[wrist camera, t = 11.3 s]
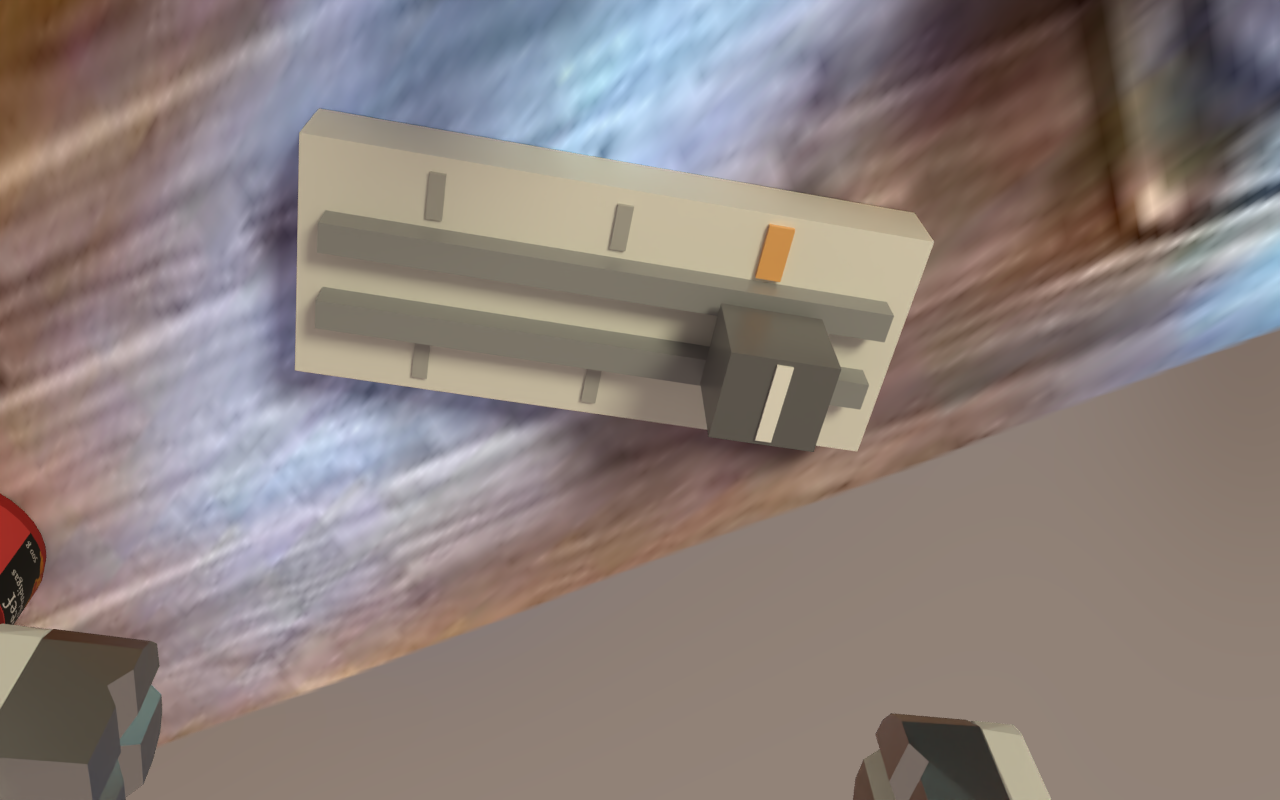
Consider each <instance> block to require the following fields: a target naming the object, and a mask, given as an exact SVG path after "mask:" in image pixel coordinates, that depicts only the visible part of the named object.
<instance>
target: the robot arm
mask: <svg viewBox="0 0 1280 800" xmlns="http://www.w3.org/2000/svg"><path fill="white" fill-rule="evenodd" d="M158 668H159V657H158V648H157V643H154V642H152V641H146V640H138V639H130V638H122V637H114V636H106V635H98V634H89V633H81V632H73V631H65V630H57V629H53V630H52V629H44V628H35V627H27V626H18V625H10V624H0V800H126V799H125V798H126V797H127V796H128V795H130V794H131V793H132V792H134V791H135V790H136V789H138V788H139V787H140V786H142V785H143V784H144V781H145V779H146V776H147V774H148V771H149V769H150V766H151V764H152V761H153V758H154V754H155V750H156V746H157V742H158V738H159V735H160V729H161V718H162V697H161V694H160V693H159V692H158V691H157V690H156V689H155V688H154V687H153V686H152V685H151V684H152V681H153V679H154V677H155V675H156V672H157V670H158ZM876 737H877V741H878V744H879V748H880V749H879V750H878V751H876V752H875V753H873V754H872V755H870V756H868V757H867V758H865V759H864V760H863V762H862V764H861V767H860V769H859V771H858V774H857V777H856V779H855V787H854V796H853V800H1051V798H1050V796H1049V793H1048V791H1047V789H1046V787H1045V785H1044V783H1043V780H1042V778H1041V776H1040V774H1039V771H1038V769H1037V767H1036V765H1035V763H1034V760H1033V758H1032V756H1031V754H1030V752H1029V749H1028V747H1027V745H1026V743H1025V741H1024V739H1023V737H1022V734H1021V732H1019V730H1017V729H1016V728H1015V727H1014V726H1013V725H1010V724H1000V723H990V722H979V721H968V720H962V719H950V718H938V717H928V716H916V715H905V714H892V713H891V714H890V715H888V716H887V717H886V718H884V719H883V720H882V722H881V724H880V726H879V728H878V730H877V732H876Z"/></svg>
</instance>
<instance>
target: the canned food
mask: <svg viewBox="0 0 1280 800" xmlns="http://www.w3.org/2000/svg"><path fill="white" fill-rule="evenodd" d="M45 562H46V549H45V544H44V541H43V538H42V536H41V533H40V532H39V530H38V529H37V527H36V525H35V524H34V522H33V521H32V520H31V519H30V518H29V517H28V515H27V514H26V513H25V512H24V511H23V510H22V509H21V508H19V507H18V506H17V505H16V504H15V503H13V502H12V501H11V500H9V499H8V498H6V497H5V496H3V495H1V494H0V624H10V625H14V623H15V622H16V620H17V619H18V617H19V616H20V614H21V613H22V611H23V610H24V608H25V607H26V605H27V604H28V602H29V601H30V599H31V598H32V596H33V595H34V593H35V592H36V590H37V588H38V586H39V585H40V583H41V581H42V577H43V572H44V567H45Z"/></svg>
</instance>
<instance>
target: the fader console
mask: <svg viewBox="0 0 1280 800" xmlns="http://www.w3.org/2000/svg"><path fill="white" fill-rule="evenodd" d="M933 244H934V241H933V240H932V238H931V237H930V235H929V234H928V232H927V231H926V229H925V228H924V226H923V225H922V223H921V222H920V221H919V219H918V218H917V216H916V215H915V213H912V212H907V211H901V210H895V209H890V208H884V207H878V206H873V205H867V204H861V203H855V202H850V201H844V200H838V199H833V198H827V197H821V196H816V195H810V194H804V193H799V192H793V191H787V190H781V189H776V188H770V187H764V186H759V185H753V184H747V183H742V182H736V181H730V180H724V179H719V178H713V177H707V176H702V175H696V174H690V173H685V172H679V171H673V170H668V169H662V168H656V167H650V166H645V165H639V164H633V163H628V162H622V161H616V160H611V159H605V158H599V157H593V156H588V155H582V154H576V153H571V152H565V151H559V150H554V149H548V148H542V147H537V146H531V145H525V144H519V143H514V142H508V141H502V140H497V139H491V138H485V137H480V136H474V135H468V134H463V133H457V132H451V131H445V130H440V129H434V128H428V127H423V126H417V125H411V124H406V123H400V122H394V121H388V120H383V119H377V118H371V117H366V116H360V115H354V114H349V113H343V112H337V111H332V110H326V109H320V108H319V109H318V110H317V111H316V113H315V114H314V115H313V116H312V117H311V119H310V120H309V121H308V122H307V124H306V125H305V126H304V127H303V129H302V130H301V131H300V132H299V177H298V232H297V287H296V342H295V370H296V371H302V372H309V373H316V374H323V375H330V376H337V377H344V378H351V379H358V380H365V381H372V382H379V383H386V384H393V385H400V386H407V387H414V388H421V389H427V390H434V391H441V392H448V393H455V394H462V395H469V396H476V397H483V398H490V399H497V400H504V401H511V402H518V403H525V404H532V405H539V406H546V407H552V408H559V409H566V410H573V411H580V412H587V413H594V414H601V415H608V416H615V417H622V418H629V419H636V420H643V421H650V422H657V423H664V424H671V425H677V426H684V427H691V428H698V429H705V430H707V424H706V417H705V411H704V405H703V398H702V392H701V385H700V382H701V378H702V374H703V371H704V367H705V363H706V359H707V355H708V351H709V347H710V344H711V340H712V336H713V332H714V328H715V324H716V320H717V317H718V313H719V309H720V305H721V303H723V304H729V305H735V306H742V307H748V308H754V309H760V310H767V311H773V312H779V313H785V314H792V315H798V316H804V317H810V318H817V319H822V320H823V323H824V325H825V328H826V331H827V333H828V336H829V338H830V341H831V343H832V346H833V349H834V351H835V354H836V356H837V359H838V362H839V364H840V367H841V372H840V375H839V378H838V381H837V384H836V387H835V390H834V393H833V396H832V399H831V402H830V405H829V408H828V411H827V414H826V417H825V420H824V422H823V425H822V428H821V431H820V434H819V437H818V440H817V443H816V446H823V447H830V448H837V449H844V450H851V451H858V448H859V445H860V443H861V440H862V437H863V435H864V432H865V429H866V426H867V424H868V421H869V418H870V415H871V413H872V410H873V407H874V405H875V402H876V399H877V396H878V394H879V391H880V388H881V385H882V383H883V380H884V377H885V375H886V372H887V369H888V366H889V364H890V361H891V358H892V355H893V353H894V350H895V347H896V345H897V342H898V339H899V336H900V334H901V331H902V328H903V325H904V323H905V320H906V317H907V315H908V312H909V309H910V306H911V304H912V301H913V298H914V295H915V293H916V290H917V287H918V285H919V282H920V279H921V276H922V274H923V271H924V268H925V265H926V263H927V260H928V257H929V255H930V252H931V249H932V246H933Z"/></svg>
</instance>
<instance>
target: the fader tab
mask: <svg viewBox="0 0 1280 800" xmlns="http://www.w3.org/2000/svg"><path fill="white" fill-rule="evenodd" d="M840 372H841V367H840V364H839V362H838V359H837V356H836V354H835V351H834V349H833V346H832V343H831V341H830V338H829V336H828V333H827V331H826V328H825V325H824V323H823V320H822V319H817V318H810V317H804V316H798V315H792V314H785V313H779V312H773V311H767V310H760V309H754V308H748V307H742V306H735V305H729V304H723V303H721V305H720V309H719V313H718V317H717V320H716V324H715V328H714V332H713V336H712V340H711V344H710V347H709V351H708V355H707V359H706V363H705V367H704V371H703V374H702V378H701V382H700V385H701V392H702V398H703V405H704V411H705V417H706V424H707V430H708V437H713V438H719V439H726V440H733V441H740V442H747V443H754V444H761V445H768V446H775V447H782V448H789V449H796V450H803V451H810V452H814V449H815V446H816V443H817V440H818V437H819V434H820V431H821V428H822V425H823V422H824V420H825V417H826V414H827V411H828V408H829V405H830V402H831V399H832V396H833V393H834V390H835V387H836V384H837V381H838V378H839V375H840Z"/></svg>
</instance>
